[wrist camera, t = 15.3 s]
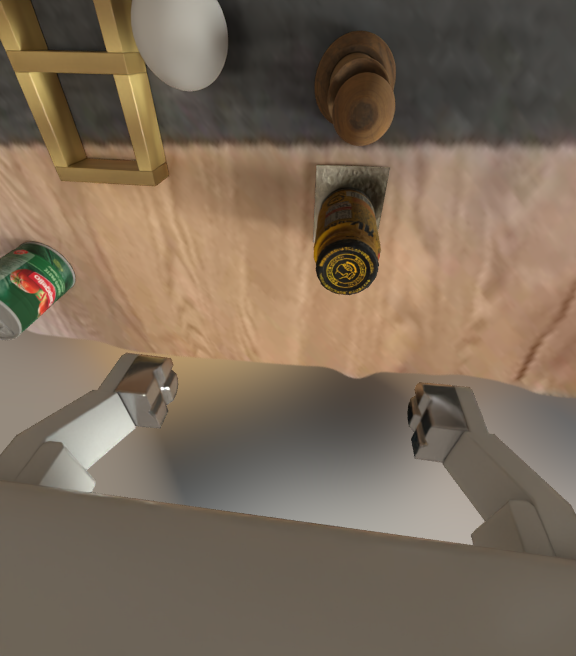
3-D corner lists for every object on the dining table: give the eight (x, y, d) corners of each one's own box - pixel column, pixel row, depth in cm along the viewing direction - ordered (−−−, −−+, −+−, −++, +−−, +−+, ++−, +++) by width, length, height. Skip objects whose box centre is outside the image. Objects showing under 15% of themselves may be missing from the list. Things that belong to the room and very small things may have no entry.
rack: (-28, -112, 24) (-73, -131, 21) (107, -115, 23) (76, -136, 20) (80, 171, 37) (60, 180, 34) (169, 175, 36) (155, 186, 33)
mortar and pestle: (340, 140, 32) (339, 212, 18) (301, 73, 29) (264, 100, 15) (406, 89, 28) (463, 130, 15) (369, 8, 25) (400, -32, 12)
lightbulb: (217, -39, 25) (155, -80, 17) (265, 48, 28) (234, 49, 20) (165, 24, 28) (90, 16, 19) (214, 97, 31) (168, 117, 22)
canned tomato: (6, 252, 46) (-68, 299, 37) (41, 233, 43) (-31, 278, 35) (52, 296, 50) (-4, 346, 42) (87, 281, 47) (33, 331, 39)
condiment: (313, 241, 39) (304, 301, 30) (316, 164, 33) (307, 209, 24) (375, 244, 38) (385, 306, 29) (389, 166, 33) (408, 213, 24)
